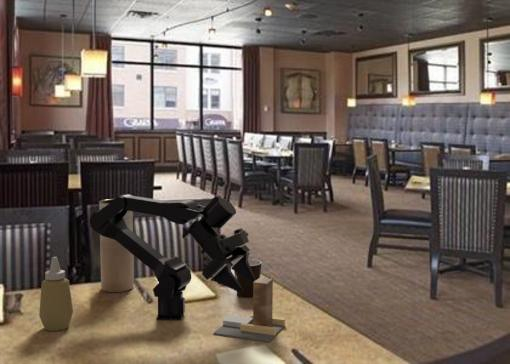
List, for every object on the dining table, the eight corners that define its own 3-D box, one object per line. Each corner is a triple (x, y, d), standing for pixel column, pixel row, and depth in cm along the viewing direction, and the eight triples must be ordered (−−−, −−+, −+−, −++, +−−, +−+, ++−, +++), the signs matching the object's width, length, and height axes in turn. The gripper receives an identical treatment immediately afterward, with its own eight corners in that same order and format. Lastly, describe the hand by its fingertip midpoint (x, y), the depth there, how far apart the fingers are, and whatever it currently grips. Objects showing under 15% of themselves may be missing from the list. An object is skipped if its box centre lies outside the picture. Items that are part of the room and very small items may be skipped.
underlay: (213, 334, 136) (213, 326, 136) (232, 318, 148) (233, 311, 147) (269, 342, 131) (269, 334, 131) (285, 325, 142) (285, 318, 142)
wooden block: (253, 329, 139) (253, 282, 138) (259, 323, 143) (259, 277, 142) (266, 331, 137) (266, 283, 136) (272, 325, 142) (272, 279, 140)
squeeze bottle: (80, 324, 143) (78, 255, 141) (59, 335, 135) (57, 262, 133) (54, 320, 145) (52, 252, 144) (32, 331, 138) (29, 259, 136)
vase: (95, 292, 171) (94, 202, 168) (108, 283, 181) (107, 198, 178) (126, 293, 170) (125, 203, 167) (138, 284, 179) (136, 199, 177)
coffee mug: (258, 299, 164) (258, 266, 163) (230, 297, 166) (230, 264, 165) (265, 288, 175) (265, 257, 174) (239, 287, 177) (239, 256, 176)
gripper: (214, 225, 132) (257, 275, 129) (243, 214, 150) (281, 258, 147) (184, 254, 136) (225, 304, 133) (216, 240, 153) (253, 284, 150)
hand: (248, 286), depth 141 cm, fingers open, 9 cm apart
